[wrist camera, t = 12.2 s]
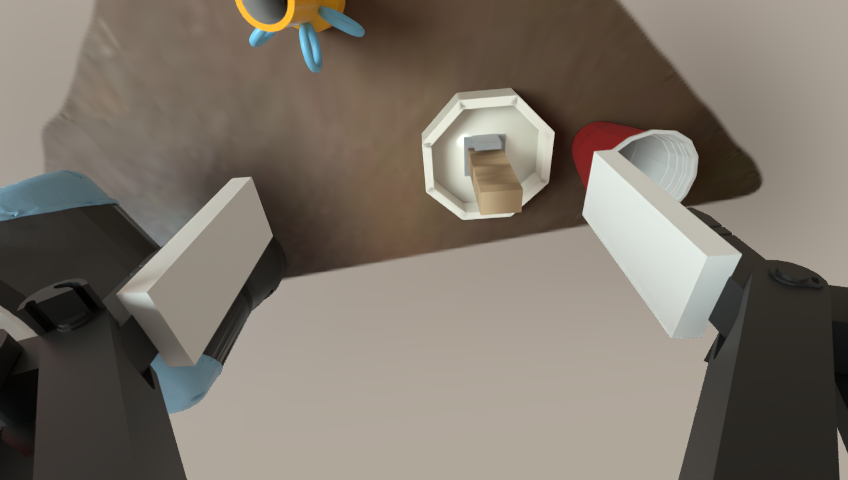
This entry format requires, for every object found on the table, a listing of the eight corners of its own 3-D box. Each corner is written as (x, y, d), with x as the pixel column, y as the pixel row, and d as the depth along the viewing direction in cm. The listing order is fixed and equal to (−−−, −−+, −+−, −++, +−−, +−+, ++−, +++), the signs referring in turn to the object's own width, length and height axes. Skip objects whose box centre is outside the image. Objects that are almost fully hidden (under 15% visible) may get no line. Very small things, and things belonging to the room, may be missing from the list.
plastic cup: (632, 178, 49) (687, 226, 39) (549, 188, 50) (582, 237, 40) (649, 92, 43) (719, 123, 33) (555, 104, 44) (595, 138, 34)
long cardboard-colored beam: (467, 167, 47) (480, 215, 37) (467, 148, 45) (480, 192, 35) (499, 164, 46) (521, 212, 37) (500, 145, 45) (523, 189, 35)
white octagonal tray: (428, 209, 51) (429, 223, 48) (418, 96, 43) (418, 104, 40) (538, 201, 51) (545, 215, 47) (549, 84, 42) (560, 92, 39)
